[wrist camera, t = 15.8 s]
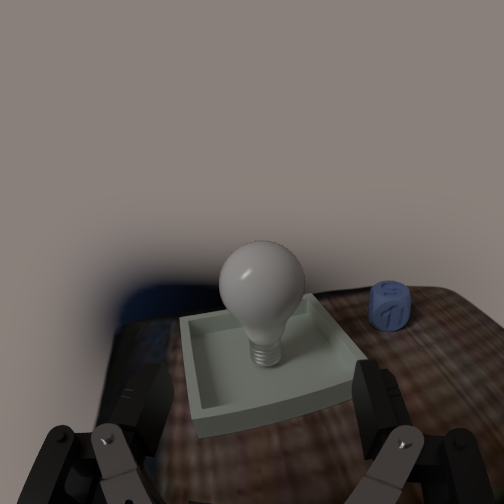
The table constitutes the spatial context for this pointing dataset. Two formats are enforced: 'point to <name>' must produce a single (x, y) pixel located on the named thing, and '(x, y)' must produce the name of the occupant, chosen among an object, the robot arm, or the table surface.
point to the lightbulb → (262, 294)
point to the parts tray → (264, 370)
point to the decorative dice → (389, 306)
